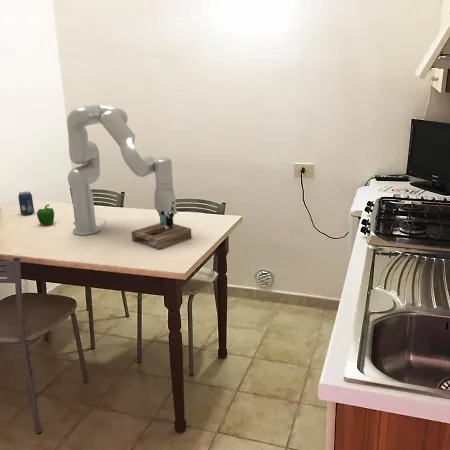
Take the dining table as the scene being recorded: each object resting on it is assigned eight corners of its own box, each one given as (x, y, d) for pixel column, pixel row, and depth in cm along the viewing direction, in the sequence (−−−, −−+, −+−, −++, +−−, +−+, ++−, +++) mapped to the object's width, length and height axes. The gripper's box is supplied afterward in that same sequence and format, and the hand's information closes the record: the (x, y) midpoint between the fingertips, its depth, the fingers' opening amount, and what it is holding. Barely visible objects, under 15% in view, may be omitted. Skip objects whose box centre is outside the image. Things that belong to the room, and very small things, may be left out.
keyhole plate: (132, 241, 229) (131, 231, 228) (165, 230, 243) (164, 221, 242) (158, 249, 218) (157, 240, 216) (191, 237, 232) (191, 228, 230)
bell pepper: (42, 228, 251) (39, 208, 248) (36, 224, 257) (33, 205, 254) (58, 224, 257) (56, 205, 253) (52, 221, 262) (49, 202, 259)
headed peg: (159, 236, 233) (158, 214, 229) (167, 234, 236) (166, 212, 233) (167, 239, 229) (165, 216, 226) (175, 236, 233) (173, 214, 230)
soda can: (25, 212, 279) (21, 191, 276) (36, 212, 278) (33, 191, 275) (18, 215, 273) (15, 194, 269) (30, 216, 272) (27, 194, 268)
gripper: (145, 184, 228) (148, 223, 234) (170, 190, 217) (173, 230, 223) (158, 181, 233) (161, 219, 239) (183, 186, 223) (185, 226, 228)
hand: (166, 224), depth 231 cm, fingers closed on headed peg, 4 cm apart
